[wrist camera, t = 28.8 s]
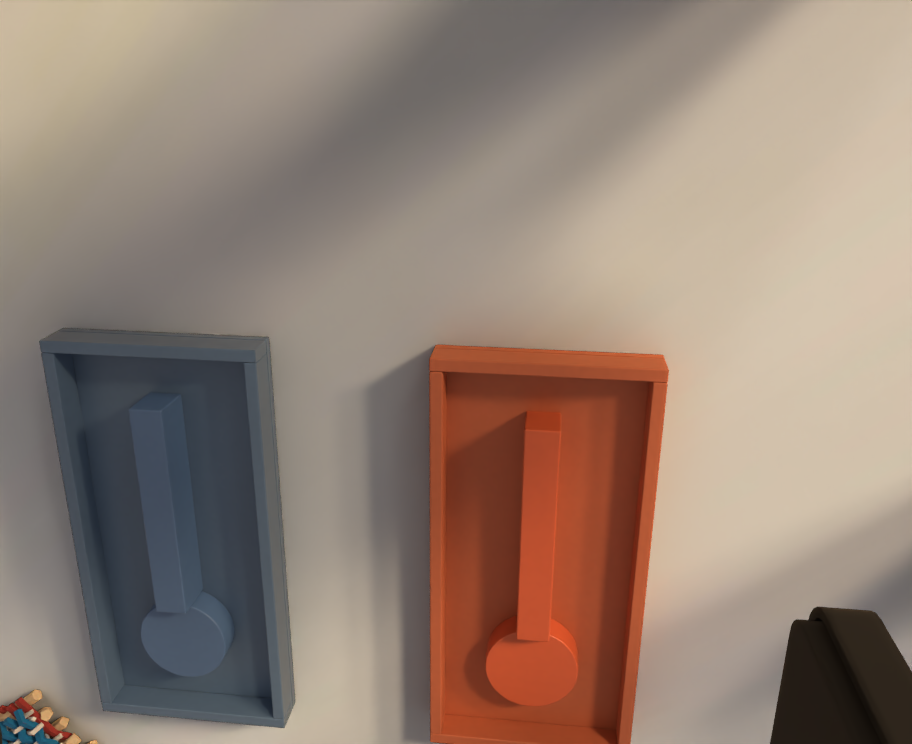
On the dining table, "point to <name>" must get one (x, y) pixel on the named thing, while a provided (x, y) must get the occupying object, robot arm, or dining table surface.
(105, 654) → the slate tray
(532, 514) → the terracotta spoon
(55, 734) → the woven mat
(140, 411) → the slate spoon
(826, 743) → the robot arm
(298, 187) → the dining table surface
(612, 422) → the terracotta tray
